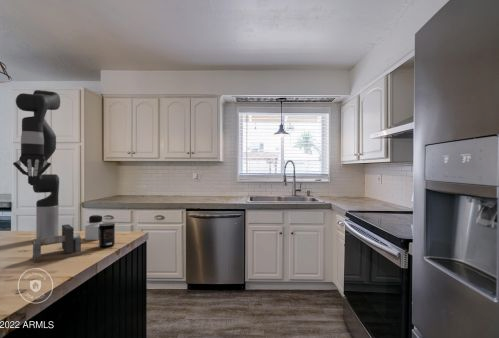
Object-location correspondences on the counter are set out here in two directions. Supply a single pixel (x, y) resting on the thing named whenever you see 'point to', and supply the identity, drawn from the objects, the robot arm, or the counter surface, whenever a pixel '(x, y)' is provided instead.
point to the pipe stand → (57, 254)
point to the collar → (68, 238)
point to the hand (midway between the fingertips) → (32, 185)
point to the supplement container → (106, 235)
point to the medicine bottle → (93, 227)
